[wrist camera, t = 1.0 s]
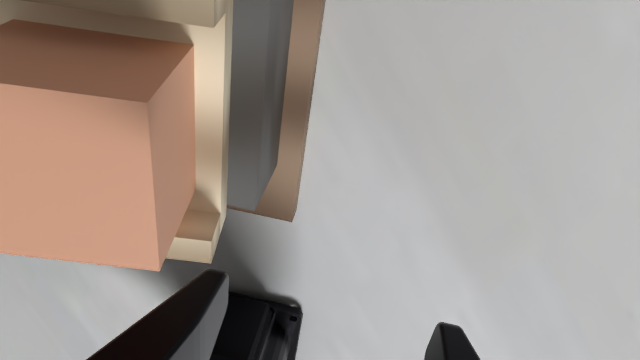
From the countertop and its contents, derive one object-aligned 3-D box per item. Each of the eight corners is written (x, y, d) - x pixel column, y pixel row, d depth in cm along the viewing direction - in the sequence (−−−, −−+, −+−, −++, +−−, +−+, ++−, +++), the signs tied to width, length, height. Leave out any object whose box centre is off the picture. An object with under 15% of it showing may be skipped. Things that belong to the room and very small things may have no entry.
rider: (195, 187, 16) (159, 271, 13) (47, 169, 16) (-31, 249, 12) (194, 44, 13) (147, 102, 10) (12, 18, 13) (-99, 70, 9)
